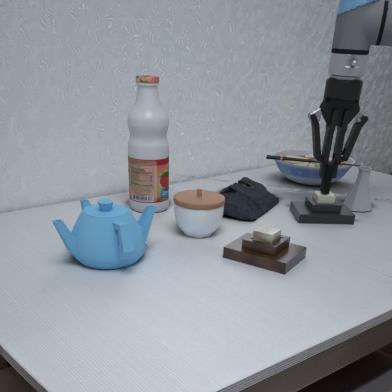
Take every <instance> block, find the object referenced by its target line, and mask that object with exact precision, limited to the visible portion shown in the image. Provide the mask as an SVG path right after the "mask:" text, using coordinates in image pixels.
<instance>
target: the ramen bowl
mask: <svg viewBox="0 0 392 392" xmlns="http://www.w3.org/2000/svg"><path fill="white" fill-rule="evenodd" d="M321 154H322V150H321ZM332 155H333V151H330V157H329V162H332ZM265 159H266V160H274V162H275V164H276V167H277V168H278V170H279V172H280V173H281V175H282V176H284V177H285V178H287V179H288V180H290V181H292V182H294V183H296V184H299V185H305V186H315V187H317V186H318V187H319V186H321V181H322V178H320V177H319V169H320V161H318V160H316V159H315V158H314V156H313V149H307V148H293V149H291V148H290V149H281V150H277V151H275V152H274V153H272V154H266V157H265ZM355 163H356V160H355V159H354V158H352V157H351V156H350V157H349V159H348V161H346V162H345V161H344V162H341V164H340V165H339V166H338V171H337V176H336V178H332V181H331V184H333V183H335V182H337V181H339V180H341V179H343V178H344V176H345V175H346V174H347V173H348V171H350V169H352V167H359V166H361V164H355Z"/></svg>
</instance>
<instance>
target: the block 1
mask: <svg viewBox="0 0 392 392" xmlns="http://www.w3.org/2000/svg"><path fill="white" fill-rule="evenodd" d="M290 241H291V236H288V235H284V234H281V237H280V239H279V240H278V241H277V242H275V243H274V244H269V243H265V242H261V241H257V240H253V232H252V233H251V232H246V233H245V234H242V235H241V236H239V237H238V238H236V239H234V240H232V241H231V242H230V243H228V244H226V245H224V246H223V250H222V258H224V259H226V260H230V261H234V262H238V263H241V264H244V265H247V266H251V267H255V268H259V269H263V270H266V271H270V272H273V273H274V272H275V273H277V274H281V275H283V276H284V275H286V274H287V273H289V272H290V271H291V270H292V269H293V268H295V267H296V266H297V265H298V264H299V263H300V262H302V261H303V260H304V259H305V258H306V254H307V249H308V247H307V246H304V245H300V244H296V243H293V242H290Z"/></svg>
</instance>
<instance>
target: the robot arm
mask: <svg viewBox="0 0 392 392" xmlns="http://www.w3.org/2000/svg"><path fill="white" fill-rule="evenodd" d="M335 17H336V18H335V24H334V29H333V36H332V42H331V43H332V44H331V49H330V50H331V51H330V54H329V62H328V67H327V72H326V73H327V75H328V76H329V77H327V79H326V80H325V85H324V91H323V98H322V101H321V102H320V103H319V104H320V105H319V107H318V109H316V110H315V111H313V112H312V111H310V112H309V113H308V114H307V118H308V120H309V122H310V125H311V139H312V142H311V143H312V150H313V156H314V158H315V159H316V160H318V161H320V169H319V177H320V178H322V181H321V185H320V186H319V187H320V188H319V191H321V192H322V193H323V194H329V192H330V191H331V185H332V183H331V181H332V178H336V176H337V171H338V166H339V165H340V164H341V162H344V161H345V162H346V161H348V159H349V157H350V158H351V154H352V152H353V150H354V147H355V145H356V142H357V140H358V138H359V136H360V133H361V131H362V129H363V127H364V126H365V125H366V123H368V121H369V116H367V115H365V114H364V113H363V112H362V111H361V106H360V99H361V96H362V90H363V85H364V82H363V80H362V78H364V77H365V74H366V70H367V65H368V59H369V54H370V49H371V46H375V47H376V46H377V47H378V46H381V47H392V0H339V2H338V8H337V13H336V16H335ZM321 116H322V119H323V120H324V122H325V130H324V131H325V132H324V137H323V143H322V142H321V127H320V121H321ZM353 119H354V120H353ZM353 121H354V123H353V125H352V127H351V129H350V131H349V134H348V136H347V139H346V141H345V137H346V132H348V131H347V130H348V126H349V125H350V123H351V122H353ZM335 131H336V133H335ZM334 134H335V140H334ZM333 140H334V145H333V150H332V144H333ZM321 143H322V144H321ZM321 151H322V154H321ZM330 152H333V155H332V162H329V157H330Z"/></svg>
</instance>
